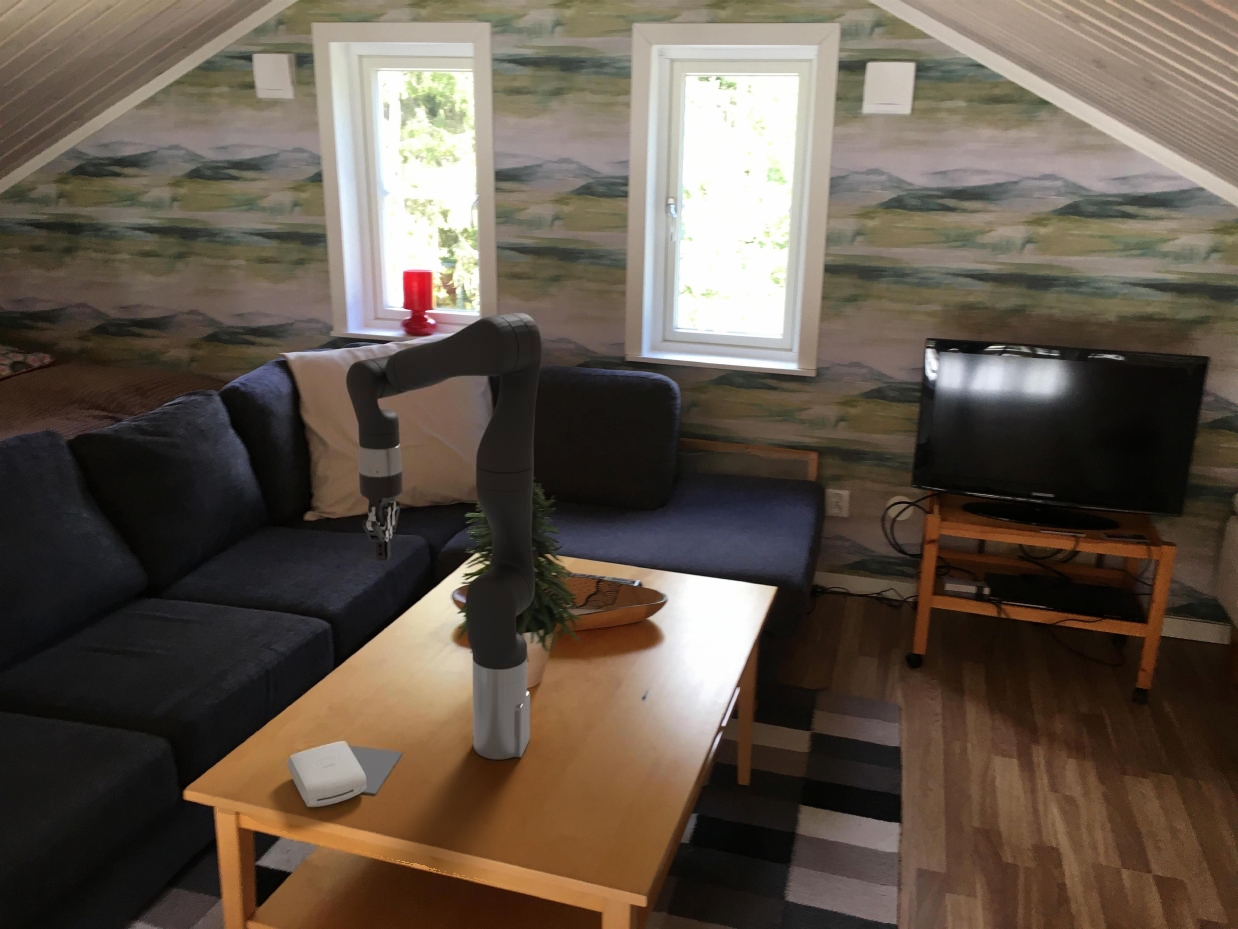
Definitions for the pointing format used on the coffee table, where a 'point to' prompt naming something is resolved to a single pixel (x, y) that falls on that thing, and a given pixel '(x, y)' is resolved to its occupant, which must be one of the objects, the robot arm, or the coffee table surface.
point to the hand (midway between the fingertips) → (383, 558)
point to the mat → (375, 765)
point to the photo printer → (327, 774)
